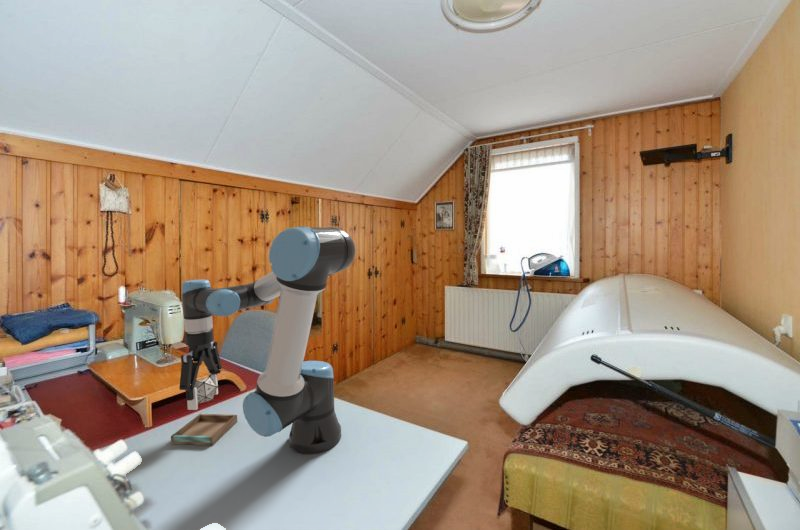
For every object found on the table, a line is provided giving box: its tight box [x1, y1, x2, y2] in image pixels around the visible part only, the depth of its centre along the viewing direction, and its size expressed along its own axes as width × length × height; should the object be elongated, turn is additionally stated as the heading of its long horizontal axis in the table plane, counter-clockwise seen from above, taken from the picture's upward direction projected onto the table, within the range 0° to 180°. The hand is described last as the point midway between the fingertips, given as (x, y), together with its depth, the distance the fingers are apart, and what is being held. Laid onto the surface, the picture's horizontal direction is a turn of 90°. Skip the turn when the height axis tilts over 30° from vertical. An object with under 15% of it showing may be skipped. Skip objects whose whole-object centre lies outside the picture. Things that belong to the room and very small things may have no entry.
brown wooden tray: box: [170, 413, 238, 446], centre depth 109 cm, size 13×13×2 cm
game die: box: [194, 373, 220, 405], centre depth 108 cm, size 9×8×10 cm
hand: (203, 401), depth 108 cm, fingers closed on game die, 9 cm apart
